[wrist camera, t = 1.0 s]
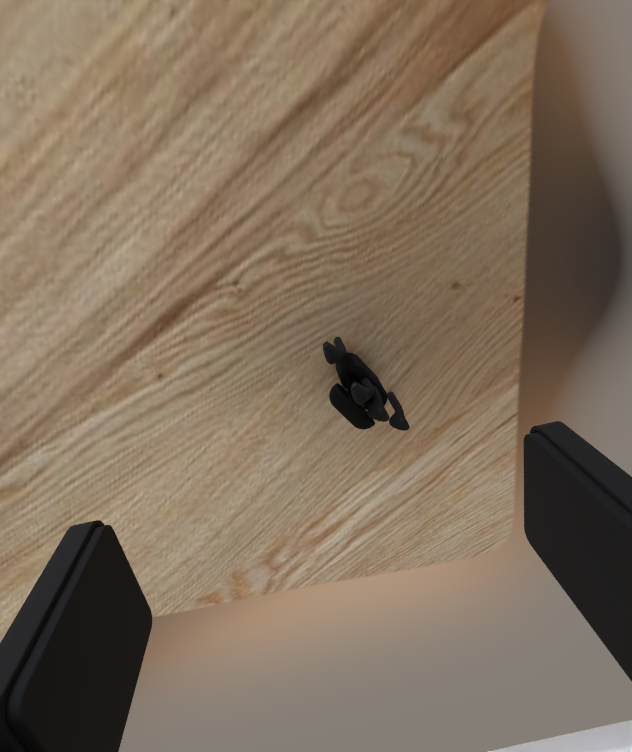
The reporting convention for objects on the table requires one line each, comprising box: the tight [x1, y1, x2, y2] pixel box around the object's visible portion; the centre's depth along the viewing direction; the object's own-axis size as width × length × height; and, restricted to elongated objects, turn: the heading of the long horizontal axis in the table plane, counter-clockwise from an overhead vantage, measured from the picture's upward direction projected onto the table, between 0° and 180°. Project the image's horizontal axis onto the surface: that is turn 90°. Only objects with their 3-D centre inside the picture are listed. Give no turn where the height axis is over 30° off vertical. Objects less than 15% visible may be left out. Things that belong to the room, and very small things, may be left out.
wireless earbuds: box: [323, 337, 409, 431], centre depth 25 cm, size 7×2×5 cm, turn 43°
